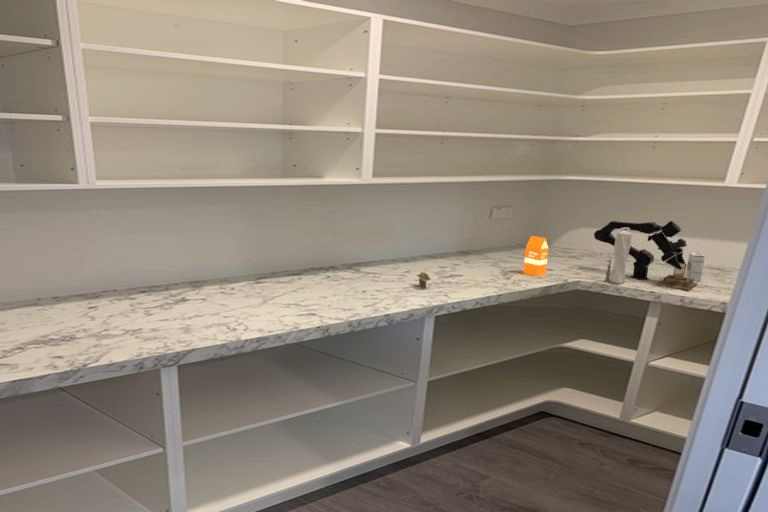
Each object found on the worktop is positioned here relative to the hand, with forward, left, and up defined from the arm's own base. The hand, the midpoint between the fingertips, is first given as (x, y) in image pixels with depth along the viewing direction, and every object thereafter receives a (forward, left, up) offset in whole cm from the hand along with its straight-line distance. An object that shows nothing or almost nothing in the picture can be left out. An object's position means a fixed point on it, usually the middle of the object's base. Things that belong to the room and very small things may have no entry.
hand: (683, 268), depth 249 cm
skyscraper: (-29, +12, -9) cm, 33 cm away
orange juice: (-62, +35, -9) cm, 72 cm away
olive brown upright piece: (-131, +22, -10) cm, 133 cm away
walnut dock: (-1, +1, -9) cm, 9 cm away
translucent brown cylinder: (-1, +1, -8) cm, 8 cm away
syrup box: (+18, +8, -9) cm, 22 cm away
